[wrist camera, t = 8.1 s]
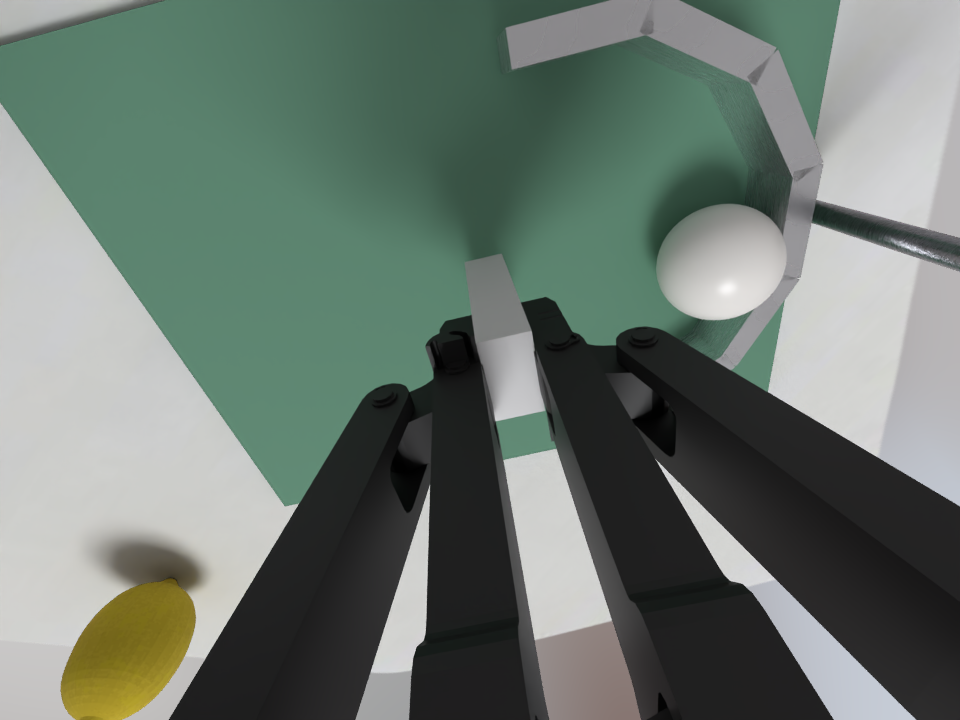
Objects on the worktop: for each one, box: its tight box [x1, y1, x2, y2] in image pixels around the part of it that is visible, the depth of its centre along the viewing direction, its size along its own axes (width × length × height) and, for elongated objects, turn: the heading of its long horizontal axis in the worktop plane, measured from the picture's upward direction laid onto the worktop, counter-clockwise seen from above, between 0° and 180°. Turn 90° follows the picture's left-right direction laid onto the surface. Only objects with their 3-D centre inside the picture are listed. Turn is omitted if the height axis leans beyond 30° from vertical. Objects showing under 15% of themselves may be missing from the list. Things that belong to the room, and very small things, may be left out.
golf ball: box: [656, 204, 787, 320], centre depth 17 cm, size 4×4×4 cm
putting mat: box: [0, 0, 840, 506], centre depth 19 cm, size 22×28×1 cm
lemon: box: [61, 578, 196, 720], centre depth 25 cm, size 6×6×8 cm
